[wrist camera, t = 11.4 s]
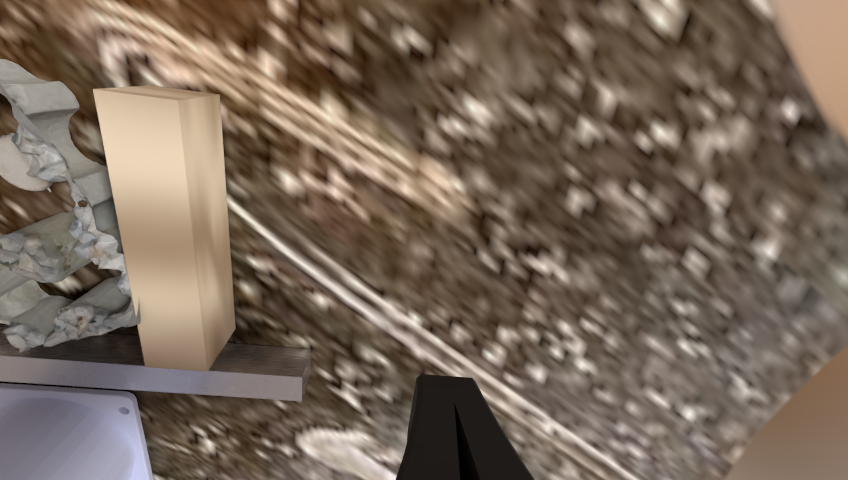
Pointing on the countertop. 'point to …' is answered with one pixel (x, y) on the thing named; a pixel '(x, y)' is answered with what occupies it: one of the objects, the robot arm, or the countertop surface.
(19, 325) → the egg carton
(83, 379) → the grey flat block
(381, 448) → the countertop surface
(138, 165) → the block
